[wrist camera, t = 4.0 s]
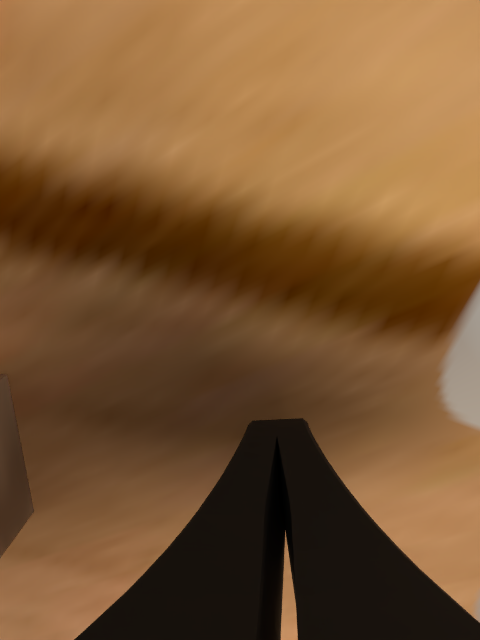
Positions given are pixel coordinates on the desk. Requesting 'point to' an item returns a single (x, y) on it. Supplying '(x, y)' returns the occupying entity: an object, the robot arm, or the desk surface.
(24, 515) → the walnut block
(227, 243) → the desk surface
